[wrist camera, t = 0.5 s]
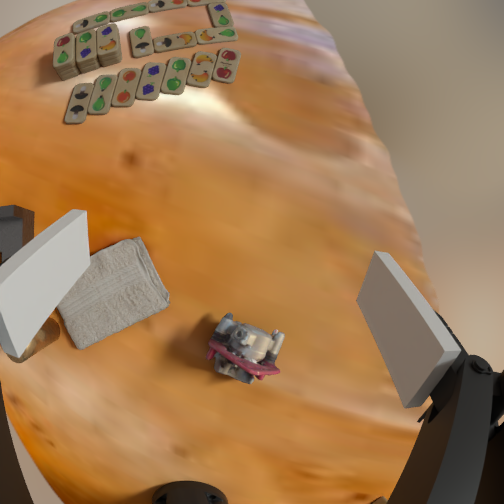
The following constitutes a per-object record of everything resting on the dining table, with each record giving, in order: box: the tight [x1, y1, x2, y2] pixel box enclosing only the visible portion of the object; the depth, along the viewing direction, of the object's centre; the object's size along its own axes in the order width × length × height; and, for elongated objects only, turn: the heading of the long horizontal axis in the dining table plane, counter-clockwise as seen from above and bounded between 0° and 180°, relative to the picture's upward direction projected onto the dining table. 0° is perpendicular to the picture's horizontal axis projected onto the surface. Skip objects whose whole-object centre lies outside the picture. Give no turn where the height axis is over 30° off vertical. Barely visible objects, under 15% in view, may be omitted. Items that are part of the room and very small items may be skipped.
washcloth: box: [56, 237, 170, 350], centre depth 41 cm, size 12×18×3 cm, turn 118°
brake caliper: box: [206, 313, 285, 384], centre depth 43 cm, size 11×11×12 cm
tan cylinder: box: [6, 317, 60, 363], centre depth 34 cm, size 4×4×12 cm
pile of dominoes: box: [53, 0, 241, 124], centre depth 42 cm, size 35×27×6 cm
